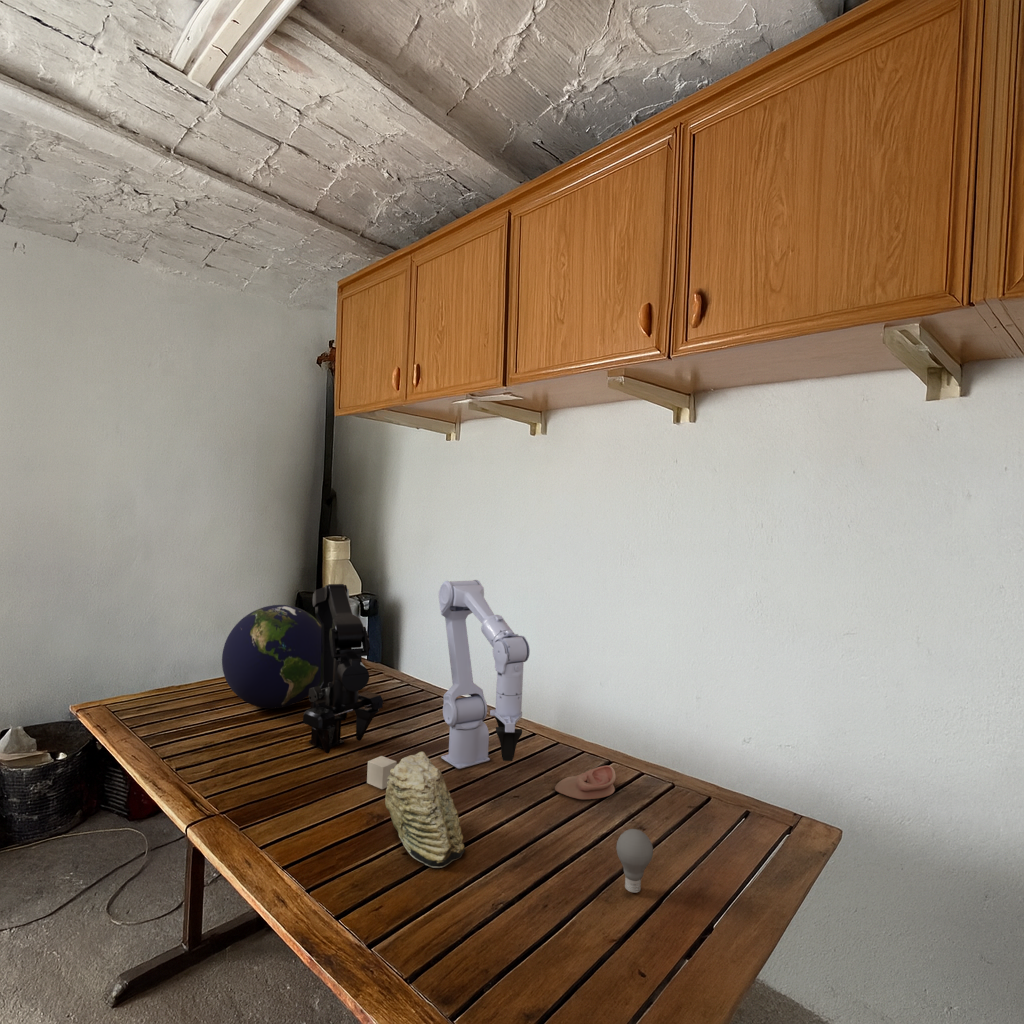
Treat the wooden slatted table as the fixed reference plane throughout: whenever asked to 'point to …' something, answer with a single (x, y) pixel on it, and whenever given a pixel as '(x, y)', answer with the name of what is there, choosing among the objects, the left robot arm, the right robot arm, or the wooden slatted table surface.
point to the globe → (273, 656)
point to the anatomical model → (589, 784)
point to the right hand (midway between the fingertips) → (506, 753)
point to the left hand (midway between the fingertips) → (343, 746)
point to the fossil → (424, 812)
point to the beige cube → (379, 771)
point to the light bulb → (634, 857)
